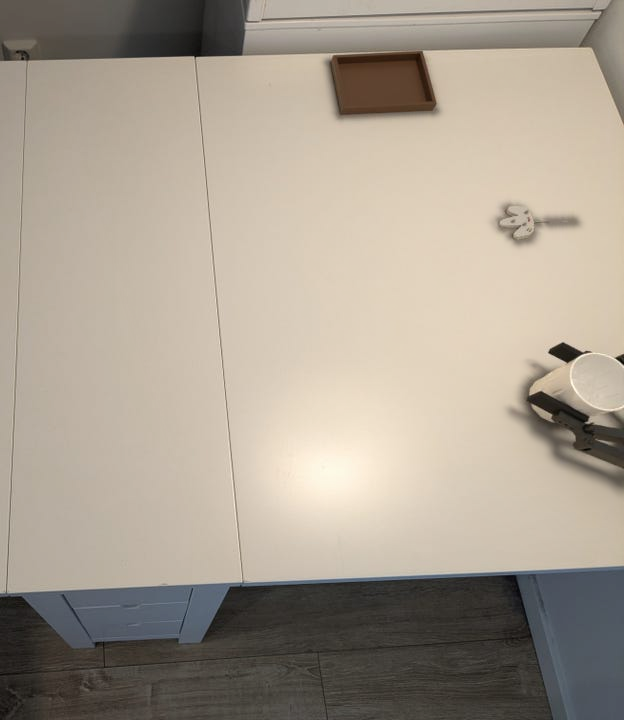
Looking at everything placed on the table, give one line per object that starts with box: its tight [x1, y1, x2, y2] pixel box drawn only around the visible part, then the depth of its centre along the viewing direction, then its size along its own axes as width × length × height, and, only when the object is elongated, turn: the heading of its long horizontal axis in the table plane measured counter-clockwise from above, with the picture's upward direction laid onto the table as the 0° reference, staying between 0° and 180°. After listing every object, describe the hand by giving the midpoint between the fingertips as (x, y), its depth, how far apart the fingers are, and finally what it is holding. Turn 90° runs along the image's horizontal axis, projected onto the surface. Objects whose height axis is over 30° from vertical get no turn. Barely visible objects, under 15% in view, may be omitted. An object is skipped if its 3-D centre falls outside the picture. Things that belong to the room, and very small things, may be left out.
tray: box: [330, 50, 438, 116], centre depth 99 cm, size 12×16×2 cm
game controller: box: [498, 205, 569, 240], centre depth 90 cm, size 6×12×3 cm, turn 109°
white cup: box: [528, 352, 624, 424], centre depth 76 cm, size 8×8×10 cm
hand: (544, 371), depth 76 cm, fingers closed on white cup, 8 cm apart
